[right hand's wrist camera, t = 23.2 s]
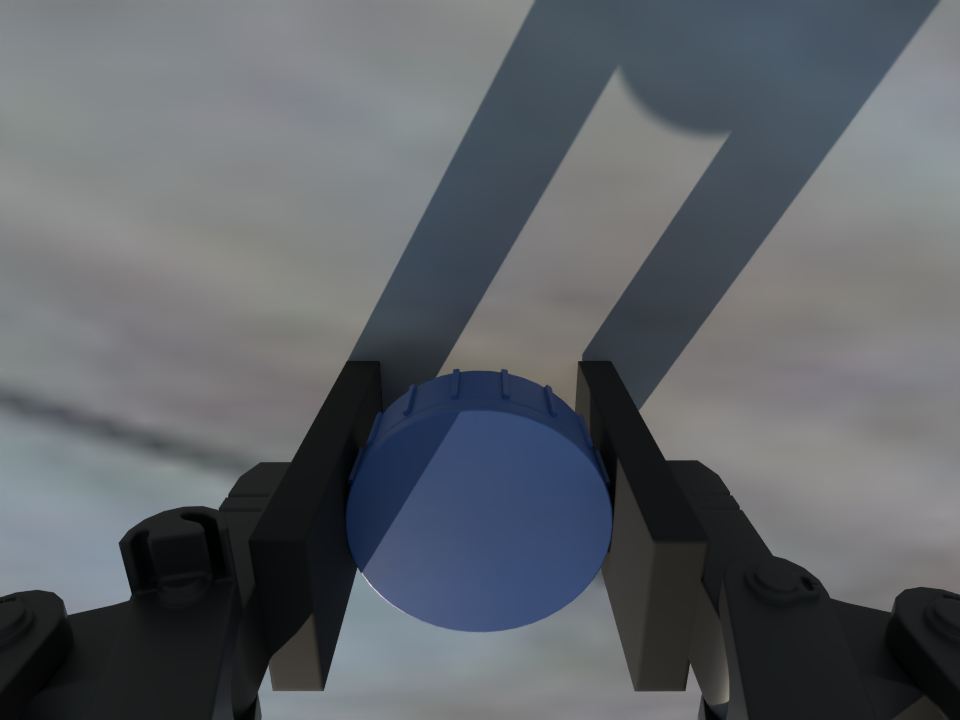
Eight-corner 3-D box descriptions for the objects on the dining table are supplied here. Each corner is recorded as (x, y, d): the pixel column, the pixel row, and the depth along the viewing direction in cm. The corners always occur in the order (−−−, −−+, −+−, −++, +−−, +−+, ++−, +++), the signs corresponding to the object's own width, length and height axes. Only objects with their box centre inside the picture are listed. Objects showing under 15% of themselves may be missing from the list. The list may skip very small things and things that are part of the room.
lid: (330, 387, 11) (306, 429, 10) (586, 345, 11) (603, 381, 10) (388, 588, 13) (376, 650, 12) (612, 557, 13) (629, 616, 11)
